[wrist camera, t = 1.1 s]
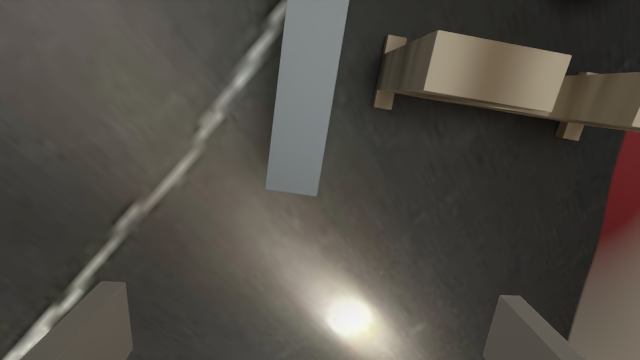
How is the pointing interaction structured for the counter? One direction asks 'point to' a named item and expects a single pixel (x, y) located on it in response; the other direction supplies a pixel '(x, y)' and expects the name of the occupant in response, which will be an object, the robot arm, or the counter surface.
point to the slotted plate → (305, 93)
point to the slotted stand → (506, 82)
